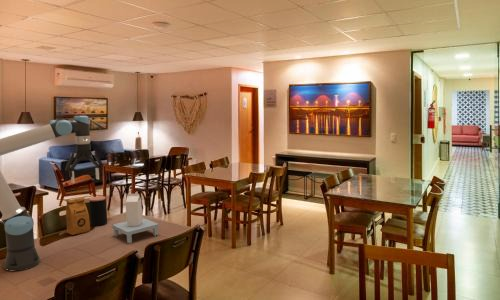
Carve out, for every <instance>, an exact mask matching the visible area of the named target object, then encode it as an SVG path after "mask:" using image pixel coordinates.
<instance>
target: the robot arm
mask: <svg viewBox="0 0 500 300" xmlns="http://www.w3.org/2000/svg"><path fill="white" fill-rule="evenodd" d="M89 120H90V119H89V116H87V115H75V116H73V119H52V120H49V123H47V124H45V125H42V126H38V127H35V128H32V129H28V130H25V131H22V132H18V133H15V134H12V135H8V136H5V137H2V138H0V157H1V156H4V155H7V154H10V153H14V152H15V151H19V150H23V149H25V148H28V147H29V148H30V147H31V146H35V145H38V144H41V143H45V142H47V141H51V140H53V139H56V138H60V137H64V136H65V137H66V136H68V135H70V134H74V138H75V153H73V152H70V153H69V158H68V162H67V163H66V165H65V168H64V170H65V171H68V176H69V178H70V181H71V184H75V183H76V182H75V171H74V169H75V168H76V166H77V165H78V163H79V162H81V161H85V160H86V161H88V160H89V161H90V163H92V164H93V165H94V166H95V179H96V180H100V174H101V168H102V167H104V164H103V162H102V161H101V159H100V157H99V155H98V151H96V150H93V151H92V147H91V146H92V145H91V132H90V131H91V130H90V129H91V128H90V121H89ZM92 155H93V157H94V158H93V157H92ZM75 157H76V158H75ZM74 158H75V160H74ZM96 161H97V162H96ZM0 213H1V215H2V216H1V221H2V223H3V225H4V231H5V241H6V252H7V253H6V256H5V260H4V263H3V268H5V269H8V270H20V271H22V270H21V269H25V270H27V269H26V268H29V269H31V268H34V267H35V265H36V266H38V265H39V264H40V263H41V262H40V261H41V258H40V255H39V253H38V251H37V249H36V247H35V245H36V244H35V234H34V225H35V224H34V219H33V217H32V216H31V214H30V213H29V212H28V210H27V208H26V207H25V206H21V205H20V203H19V201H18V200H17V198H16V196H15V194H14V192H13V190H12V189H11V187H10V186H9V183H8V181H7V180H6V179H5V176H4V175H3V173H2V171H1V170H0ZM39 262H40V263H39ZM38 263H39V264H38ZM33 266H34V267H33ZM30 267H31V268H30ZM5 269H4V270H5Z"/></svg>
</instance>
